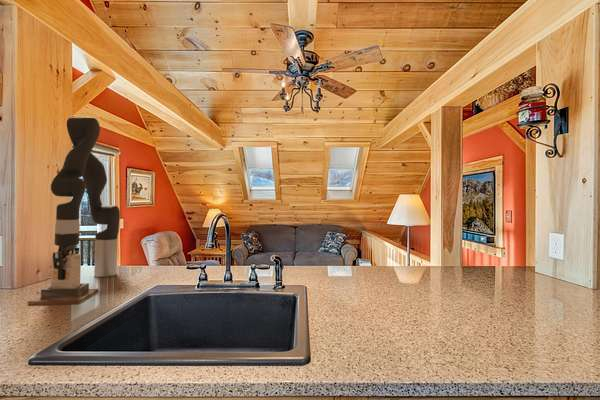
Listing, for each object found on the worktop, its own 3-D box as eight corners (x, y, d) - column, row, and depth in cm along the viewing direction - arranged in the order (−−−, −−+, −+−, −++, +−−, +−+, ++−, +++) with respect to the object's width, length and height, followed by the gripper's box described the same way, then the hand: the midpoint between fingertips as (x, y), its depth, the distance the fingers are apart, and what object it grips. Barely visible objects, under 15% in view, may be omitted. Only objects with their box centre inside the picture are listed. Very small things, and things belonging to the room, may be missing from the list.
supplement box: (80, 289, 130) (82, 253, 130) (71, 292, 125) (72, 255, 125) (60, 287, 130) (61, 252, 130) (49, 291, 126) (51, 254, 126)
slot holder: (54, 292, 134) (54, 281, 134) (98, 291, 137) (98, 281, 137) (27, 304, 119) (28, 292, 119) (78, 304, 121) (78, 292, 121)
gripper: (66, 229, 134) (65, 273, 134) (44, 233, 120) (43, 282, 120) (87, 230, 135) (86, 273, 135) (68, 233, 121) (66, 282, 121)
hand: (65, 277), depth 128 cm, fingers closed on supplement box, 5 cm apart
